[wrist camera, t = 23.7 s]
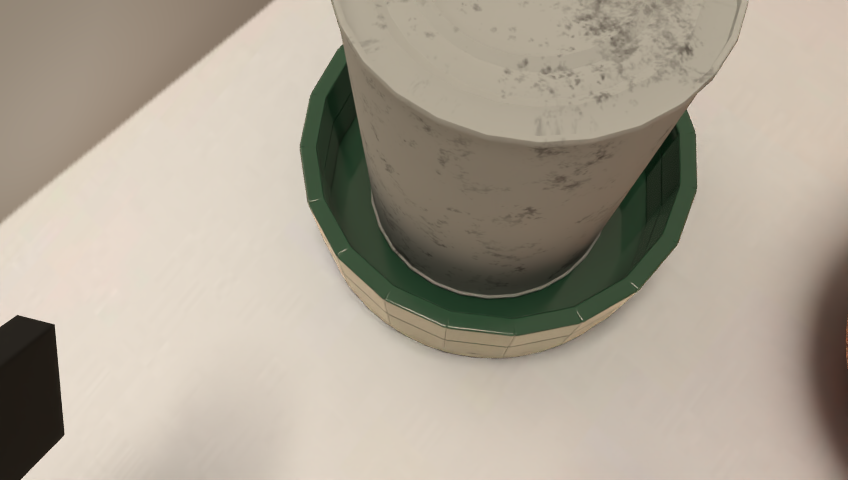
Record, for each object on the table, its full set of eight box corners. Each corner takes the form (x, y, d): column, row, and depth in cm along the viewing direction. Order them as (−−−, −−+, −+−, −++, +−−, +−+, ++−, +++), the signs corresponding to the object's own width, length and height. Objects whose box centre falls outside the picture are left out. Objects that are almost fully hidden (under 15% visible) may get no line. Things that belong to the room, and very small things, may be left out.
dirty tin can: (391, 319, 24) (357, 178, 13) (355, 102, 28) (303, -167, 16) (637, 276, 25) (816, 103, 13) (573, 68, 28) (674, -216, 17)
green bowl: (293, 335, 25) (265, 307, 21) (349, 39, 30) (336, -34, 26) (654, 379, 24) (702, 358, 20) (654, 68, 29) (693, -1, 25)
